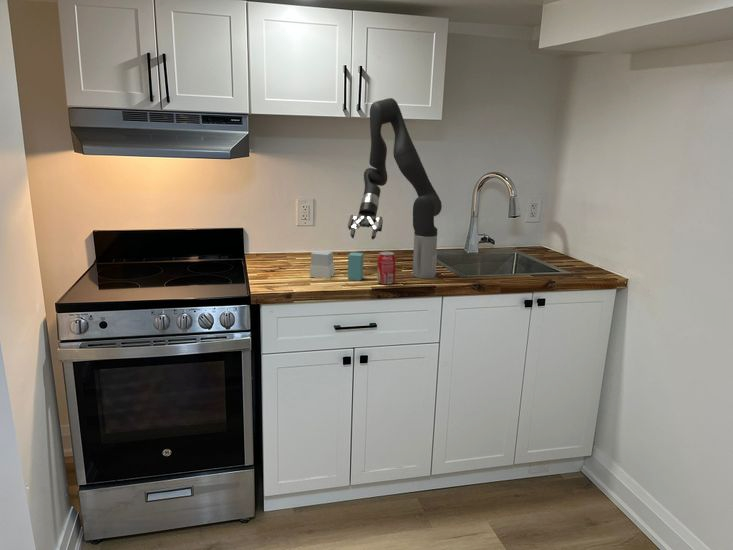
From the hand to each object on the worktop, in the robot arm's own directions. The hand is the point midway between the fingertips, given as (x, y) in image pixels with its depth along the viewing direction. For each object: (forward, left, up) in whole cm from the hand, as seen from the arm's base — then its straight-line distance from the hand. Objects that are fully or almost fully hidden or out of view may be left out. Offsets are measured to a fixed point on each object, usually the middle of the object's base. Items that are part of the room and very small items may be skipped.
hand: (362, 237), depth 226 cm
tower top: (+14, +11, -10) cm, 20 cm away
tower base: (+14, +11, -15) cm, 23 cm away
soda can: (-13, +14, -15) cm, 24 cm away
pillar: (0, +11, -15) cm, 18 cm away
